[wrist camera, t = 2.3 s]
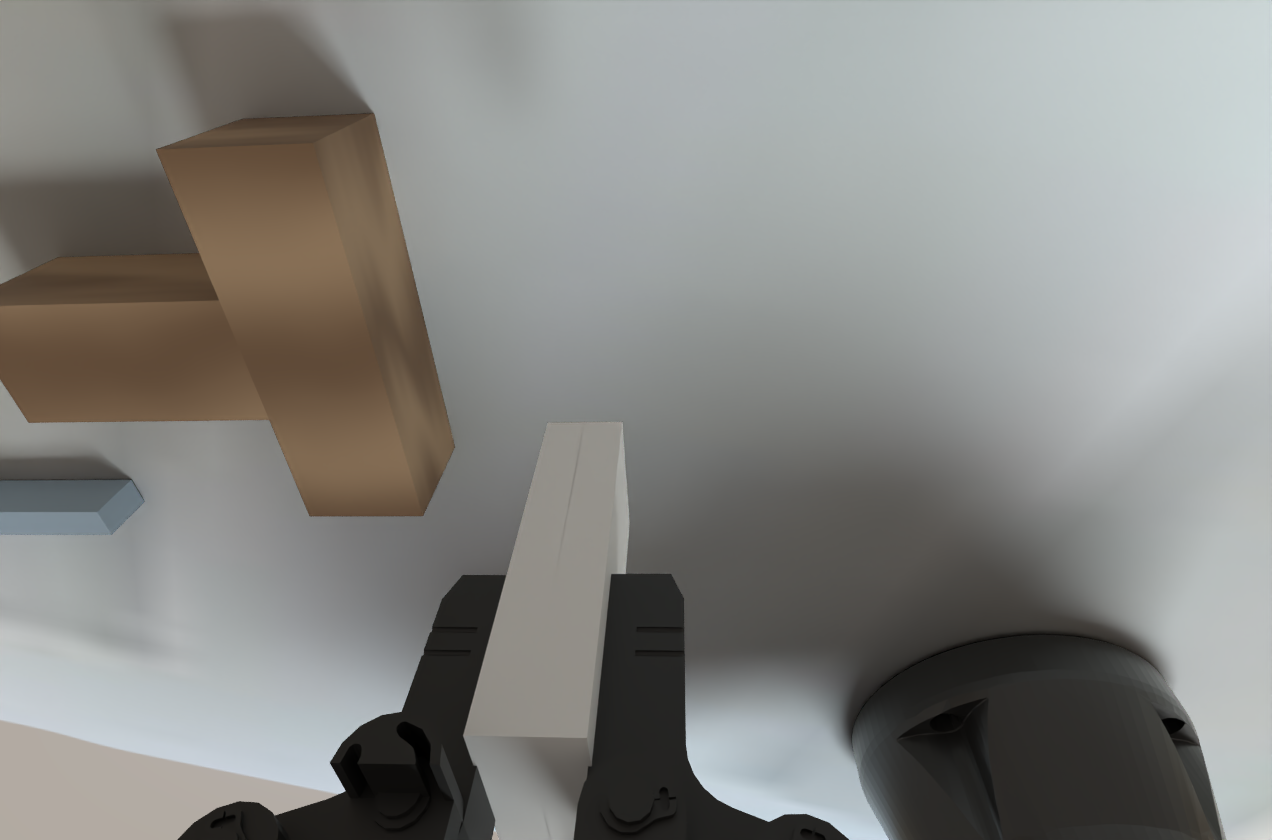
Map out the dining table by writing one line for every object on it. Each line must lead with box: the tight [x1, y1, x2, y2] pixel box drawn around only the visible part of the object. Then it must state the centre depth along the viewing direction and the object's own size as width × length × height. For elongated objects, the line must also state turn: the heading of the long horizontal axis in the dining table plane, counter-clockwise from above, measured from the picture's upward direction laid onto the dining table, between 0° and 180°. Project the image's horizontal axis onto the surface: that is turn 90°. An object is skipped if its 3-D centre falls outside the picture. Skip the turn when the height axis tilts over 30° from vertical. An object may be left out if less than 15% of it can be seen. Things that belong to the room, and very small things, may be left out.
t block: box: [0, 113, 455, 516], centre depth 22 cm, size 12×12×4 cm
